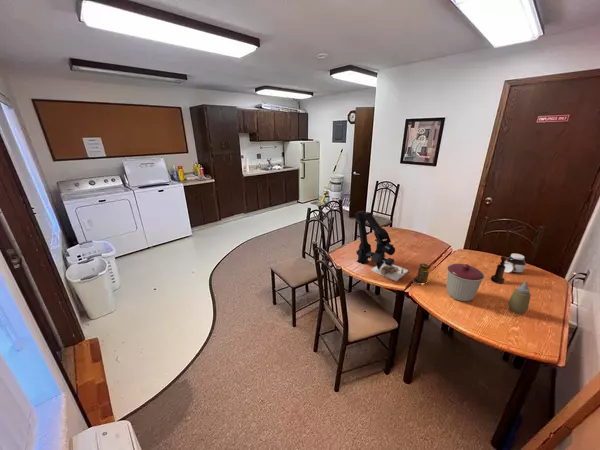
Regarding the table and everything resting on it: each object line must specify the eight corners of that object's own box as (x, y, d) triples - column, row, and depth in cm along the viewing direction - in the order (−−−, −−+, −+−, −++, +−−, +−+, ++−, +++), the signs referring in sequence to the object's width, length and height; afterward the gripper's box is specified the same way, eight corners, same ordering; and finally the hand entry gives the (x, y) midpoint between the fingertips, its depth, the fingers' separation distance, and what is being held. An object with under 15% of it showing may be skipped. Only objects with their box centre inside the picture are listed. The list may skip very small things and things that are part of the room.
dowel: (400, 273, 166) (401, 268, 164) (401, 272, 166) (402, 267, 165) (402, 273, 165) (403, 268, 163) (403, 273, 166) (403, 268, 164)
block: (387, 265, 175) (387, 261, 174) (397, 269, 170) (398, 265, 169) (377, 272, 166) (377, 268, 165) (387, 277, 161) (388, 273, 160)
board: (371, 270, 172) (371, 264, 170) (383, 262, 182) (384, 256, 181) (396, 281, 158) (397, 274, 157) (408, 271, 169) (409, 265, 167)
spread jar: (523, 270, 166) (528, 255, 162) (522, 277, 159) (527, 262, 154) (500, 265, 174) (505, 250, 170) (499, 271, 166) (503, 256, 162)
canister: (436, 286, 152) (442, 257, 144) (465, 286, 151) (473, 256, 144) (452, 305, 135) (459, 273, 128) (485, 305, 134) (495, 273, 127)
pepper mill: (501, 279, 158) (508, 254, 151) (505, 284, 152) (513, 259, 146) (489, 277, 160) (496, 253, 154) (492, 282, 154) (500, 257, 148)
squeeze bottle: (502, 306, 133) (511, 278, 127) (516, 305, 134) (525, 277, 128) (515, 316, 126) (526, 287, 120) (530, 315, 126) (541, 286, 120)
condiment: (429, 282, 157) (432, 265, 153) (422, 286, 153) (425, 270, 149) (419, 277, 163) (421, 261, 159) (411, 281, 158) (414, 265, 154)
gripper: (362, 248, 163) (360, 268, 168) (387, 257, 150) (385, 278, 156) (370, 243, 170) (369, 263, 176) (396, 251, 157) (393, 272, 163)
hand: (378, 269), depth 167 cm, fingers closed
